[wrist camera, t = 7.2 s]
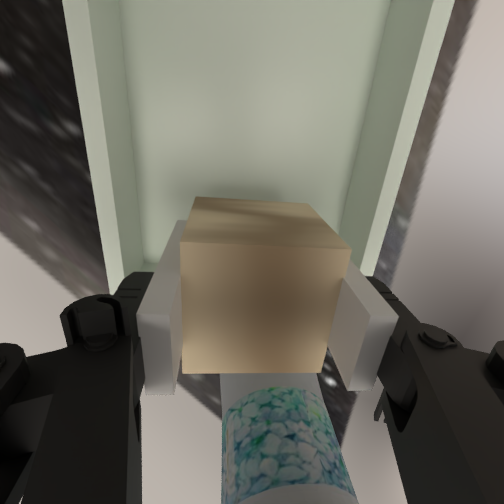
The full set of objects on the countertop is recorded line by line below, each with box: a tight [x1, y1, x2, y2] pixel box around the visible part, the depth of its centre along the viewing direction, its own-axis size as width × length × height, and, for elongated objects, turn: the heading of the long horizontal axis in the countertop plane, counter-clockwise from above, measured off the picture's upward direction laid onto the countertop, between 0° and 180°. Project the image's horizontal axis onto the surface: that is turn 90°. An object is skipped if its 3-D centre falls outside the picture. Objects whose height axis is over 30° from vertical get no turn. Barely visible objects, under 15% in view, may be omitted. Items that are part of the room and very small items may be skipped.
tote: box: [62, 0, 455, 295], centre depth 14 cm, size 18×14×4 cm
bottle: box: [220, 373, 359, 504], centre depth 13 cm, size 7×7×20 cm
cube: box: [180, 196, 352, 374], centre depth 12 cm, size 5×5×5 cm
